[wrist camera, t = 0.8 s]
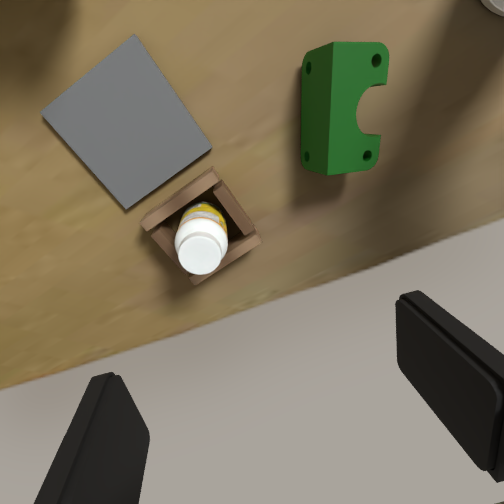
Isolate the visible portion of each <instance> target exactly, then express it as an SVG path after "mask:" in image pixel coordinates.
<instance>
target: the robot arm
mask: <svg viewBox="0 0 504 504" xmlns="http://www.w3.org/2000/svg"><path fill="white" fill-rule="evenodd" d="M481 2H482V3H483V5H485V6H486V7H487V8H488V9H489V10H490V11H492V12H494V13H496V14H498V15H500V16H504V0H481ZM395 305H396V338H397V362H398V365H399V368H400V370H401V371H402V373H403V374H404V375H405V376H406V378H407V379H408V380H409V381H410V383H411V384H412V385H413V386H414V388H415V389H416V390H417V391H418V393H419V394H420V395H421V396H422V398H423V399H424V400H425V401H426V403H427V404H428V405H429V407H430V408H431V409H432V410H433V411H434V413H435V414H436V415H437V417H438V418H439V419H440V420H441V422H442V423H443V424H444V425H445V427H446V428H447V429H448V430H449V432H450V433H451V434H452V435H453V437H454V438H455V439H456V440H457V442H458V443H459V444H460V446H461V447H462V448H463V449H464V451H465V452H466V453H467V454H468V456H469V457H470V458H471V459H472V460H473V462H474V463H475V464H476V465H477V467H479V468H480V469H481V470H483V471H486V470H487V471H488V473H489V474H490V475H491V476H492V478H493V479H494V480H495V481H496V482H497V483H498V482H501V481H504V355H503V354H502V353H501V352H499V351H498V350H496V349H495V348H494V347H493V346H492V345H490V344H489V343H488V342H486V341H485V340H484V339H482V338H481V337H480V336H478V335H477V334H476V333H475V332H473V331H472V330H471V329H469V328H468V327H467V326H465V325H464V324H463V323H461V322H460V321H459V320H457V319H456V318H455V317H454V316H452V315H451V314H450V313H448V312H447V311H446V310H445V309H443V308H442V307H440V306H439V305H438V304H436V303H435V302H434V301H433V300H432V299H430V298H429V297H428V296H426V295H425V294H424V293H422V292H421V291H419V290H417V291H413V292H409V293H406V294H402V295H400V297H399V300H397V301H396V304H395ZM149 441H150V436H149V430H148V428H147V426H146V424H145V422H144V420H143V418H142V416H141V415H140V413H139V411H138V409H137V407H136V405H135V403H134V401H133V399H132V397H131V395H130V393H129V391H128V389H127V387H126V386H125V384H124V382H123V380H122V378H121V376H119V375H115V374H114V373H113V372H109V373H105V374H102V375H98V376H94V377H92V378H91V380H90V382H89V384H88V387H87V389H86V391H85V393H84V395H83V397H82V400H81V402H80V404H79V406H78V408H77V411H76V413H75V415H74V417H73V419H72V422H71V424H70V426H69V428H68V430H67V433H66V435H65V436H64V438H63V441H62V443H61V445H60V447H59V449H58V451H57V454H56V456H55V458H54V460H53V462H52V465H51V467H50V469H49V471H48V474H47V476H46V478H45V480H44V482H43V485H42V487H41V489H40V491H39V493H38V495H37V498H36V500H35V502H34V504H139V498H140V492H141V487H142V481H143V475H144V470H145V464H146V459H147V453H148V447H149ZM496 504H504V502H500V503H496Z"/></svg>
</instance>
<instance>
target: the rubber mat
mask: <svg viewBox="0 0 504 504" xmlns="http://www.w3.org/2000/svg"><path fill="white" fill-rule="evenodd" d="M40 113H41V114H42V116H43V117H44V118H45V119H46V120H47V121H48V122H49V123H50V125H51V126H52V127H53V128H54V129H55V130H56V131H57V132H58V134H59V135H60V136H61V137H62V138H63V139H64V140H65V141H66V143H67V144H68V145H69V146H70V147H71V148H72V149H73V150H74V152H75V153H76V154H77V155H78V156H79V157H80V158H81V159H82V161H83V162H84V163H85V164H86V165H87V166H88V167H89V168H90V170H91V171H92V172H93V173H94V174H95V175H96V176H97V177H98V178H99V180H100V181H101V182H102V183H103V184H104V185H105V186H106V187H107V189H108V190H109V191H110V192H111V193H112V194H113V195H114V196H115V198H116V199H117V200H118V201H119V202H120V203H121V204H122V205H123V207H124V208H125V209H128V208H129V207H130V206H132V205H133V204H135V203H136V202H137V201H139V200H140V199H141V198H143V197H144V196H146V195H147V194H148V193H150V192H151V191H153V190H154V189H155V188H157V187H158V186H159V185H161V184H162V183H164V182H165V181H166V180H168V179H169V178H171V177H172V176H173V175H175V174H176V173H177V172H179V171H180V170H182V169H183V168H184V167H186V166H187V165H189V164H190V163H191V162H193V161H194V160H195V159H197V158H198V157H200V156H201V155H202V154H204V153H205V152H207V151H208V150H209V149H211V148H212V145H211V144H210V142H209V141H208V140H207V138H206V137H205V135H204V134H203V132H202V131H201V129H200V128H199V126H198V125H197V123H196V122H195V121H194V119H193V118H192V116H191V115H190V113H189V112H188V110H187V109H186V107H185V106H184V104H183V103H182V102H181V100H180V99H179V97H178V96H177V94H176V93H175V91H174V90H173V88H172V87H171V85H170V84H169V83H168V81H167V80H166V78H165V77H164V75H163V74H162V72H161V71H160V69H159V68H158V66H157V65H156V64H155V62H154V61H153V59H152V58H151V56H150V55H149V53H148V52H147V50H146V49H145V47H144V46H143V44H142V43H141V42H140V40H139V39H138V37H137V36H136V35H135V34H134V35H132V36H131V37H130V38H129V39H128V40H126V41H125V42H124V43H123V44H122V45H120V46H119V47H118V48H117V49H115V50H114V51H113V52H112V53H111V54H109V55H108V56H107V57H106V58H105V59H103V60H102V61H101V62H100V63H99V64H97V65H96V66H95V67H94V68H93V69H91V70H90V71H89V72H88V73H86V74H85V75H84V76H83V77H82V78H80V79H79V80H78V81H77V82H76V83H74V84H73V85H72V86H71V87H70V88H68V89H67V90H66V91H65V92H64V93H62V94H61V95H60V96H59V97H57V98H56V99H55V100H54V101H53V102H51V103H50V104H49V105H48V106H47V107H45V108H44V109H43V110H42V111H41V112H40Z"/></svg>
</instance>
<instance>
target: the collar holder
mask: <svg viewBox="0 0 504 504" xmlns="http://www.w3.org/2000/svg"><path fill="white" fill-rule="evenodd" d="M218 181H219V174H218V173H217V171H216V170H215V169H214V167H213V166H212V167H211V168H209V169H208V170H207V171H205V172H204V173H202V174H201V175H200V176H198V177H197V178H195V179H194V180H193V181H191V182H190V183H188V184H187V185H185V186H184V187H183V188H181V189H180V190H178V191H177V192H176V193H174V194H173V195H171V196H170V197H169V198H167V199H166V200H164V201H163V202H162V203H160V204H159V205H157V206H156V207H155V208H153V209H152V210H150V211H149V212H148V213H146V214H145V216H144V217H143V219H142V220H141V221H140V224H141V226H142V227H143V228H144V229H145V230H146V231H148V230H150V229H151V228H153V227H154V226H156V227H155V229H154V231H153V232H152V234H151V237H152V238H153V239H154V240H155V241H156V242H157V244H158V245H159V246H160V247H161V248H162V249H163V250H164V251H165V253H166V254H167V255H168V256H169V257H170V258H171V259H172V260H173V262H174V263H175V264H176V265H177V266H178V267H179V268H180V269H181V271H182V272H183V273H184V274H185V275H186V274H188V273H189V272H188V271H187V270H186V269H184V268H183V266H182V265H181V264H180V261H179V258H178V254H177V252H176V249H175V236H176V233H175V232H174V231H173V229H172V228H171V227H170V226H169V225H168V224H167V222H166V221H165V220H164V219H166V218H167V217H168V216H170V215H171V214H173V213H174V212H176V211H177V210H178V209H180V208H181V207H183V206H184V205H186V204H187V203H188V202H190V201H191V200H193V199H194V198H196V197H197V196H198V195H200V194H201V193H203V192H204V191H206V190H207V189H208V188H210V187H211V186H213V185H214V184H215V185H214V187H213V193H214V194H215V196H216V197H217V198H218V200H219V201H220V202H221V204H222V205H223V206H224V208H225V209H226V211H227V212H228V213H229V215H230V216H231V217H232V219H233V220H234V221H235V223H236V224H237V226H238V227H239V228H240V230H241V231H242V232H241V233H239V234H238V235H236V236H235V237H233V238H232V239H230V240H229V241H228V247H227V251H226V254H225V256H224V257H223V258H222V260H221V261H220V264H219V265H218V267H217V268H216V269H215V270H214V271H212V272H210V273H208V274H203V275H197V274H193V273H190V274H189V280H190V281H191V282H192V283H193V284H194V285H197V284H198V283H200V282H201V281H203V280H205V279H206V278H208V277H209V276H211V275H212V274H214V273H215V272H217V271H218V270H220V269H222V268H223V267H225V266H226V265H228V264H229V263H231V262H232V261H234V260H235V259H237V258H239V257H240V256H242V255H243V254H245V253H246V252H248V251H249V250H251V249H252V248H254V247H256V246H257V245H259V244H260V243H262V240H261V237H260V234H259V231H258V230H257V228H256V227H255V226H254V224H253V225H252V223H251V220H250V218H249V217H248V216H247V214H246V213H245V211H244V210H243V208H242V207H241V206H240V204H239V203H238V201H237V200H236V199H235V197H234V196H233V194H232V193H231V191H230V190H229V189H228V187H227V186H226V184H225V183H224V181H223V180H221V181H219V182H218ZM217 182H218V183H217ZM161 221H162V222H161ZM160 222H161V223H160ZM158 223H159V224H158ZM157 224H158V225H157Z"/></svg>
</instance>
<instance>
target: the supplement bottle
mask: <svg viewBox="0 0 504 504" xmlns="http://www.w3.org/2000/svg"><path fill="white" fill-rule="evenodd" d="M227 247H228V238H227V225H226V219H225V216H224V214H223V212H222V211H221V209H220V208H219V207H217V206H216V205H214V204H212V203H209V202H198V203H195V204H192V205H191V206H189V207H188V208H187V209H186V210H185V212H184V213H183V216H182V219H181V222H180V225H179V227H178V230H177V233H176V236H175V249H176V252H177V254H178V258H179V261H180V264H181V265H182V266H183V268H184V269H186V270H187V271H188V272H190V273H193V274H197V275H203V274H208V273H210V272H212V271H214V270H215V269H216V268H217V267H218V265H219V264H220V261H221V260H222V258H223V257H224V256H225V254H226V251H227Z"/></svg>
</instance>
